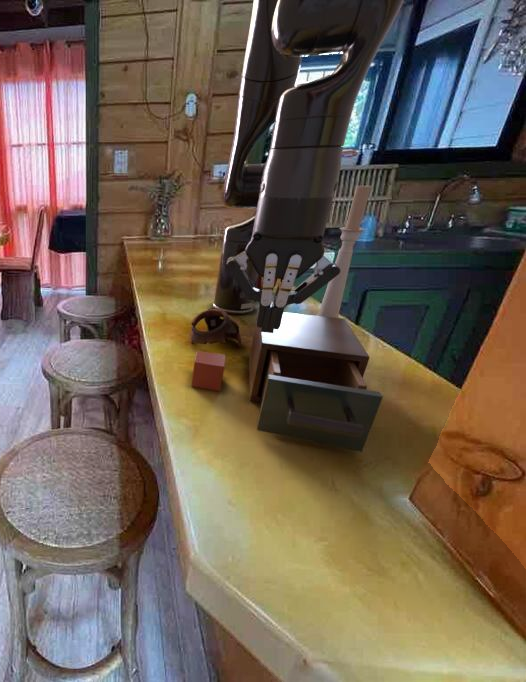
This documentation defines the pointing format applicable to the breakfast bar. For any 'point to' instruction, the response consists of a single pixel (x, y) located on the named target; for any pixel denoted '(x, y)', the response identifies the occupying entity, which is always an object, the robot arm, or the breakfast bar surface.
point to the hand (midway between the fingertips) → (266, 330)
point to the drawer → (316, 400)
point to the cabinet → (305, 344)
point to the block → (208, 370)
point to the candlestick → (345, 253)
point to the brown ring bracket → (215, 327)
